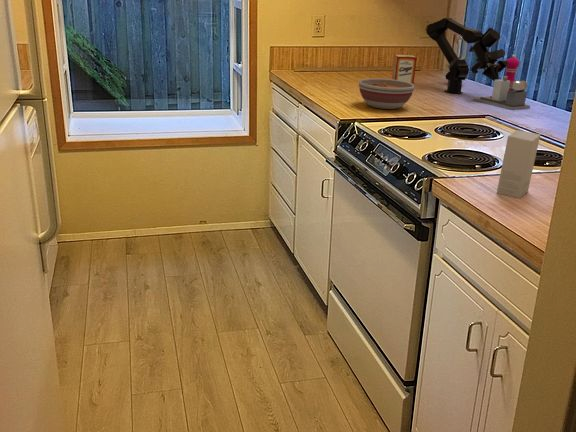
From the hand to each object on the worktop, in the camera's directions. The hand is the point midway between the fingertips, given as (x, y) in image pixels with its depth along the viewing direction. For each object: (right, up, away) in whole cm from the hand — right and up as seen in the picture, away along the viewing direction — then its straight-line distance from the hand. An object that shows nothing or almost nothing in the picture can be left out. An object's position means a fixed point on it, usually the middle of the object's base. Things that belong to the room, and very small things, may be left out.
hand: (497, 82), depth 279 cm
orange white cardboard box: (-38, +2, +27) cm, 47 cm away
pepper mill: (+11, -3, +19) cm, 22 cm away
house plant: (-8, +8, +45) cm, 46 cm away
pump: (+1, -8, +1) cm, 8 cm away
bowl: (-54, -15, -19) cm, 60 cm away
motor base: (+2, -10, 0) cm, 10 cm away
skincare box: (-36, -54, -117) cm, 134 cm away
